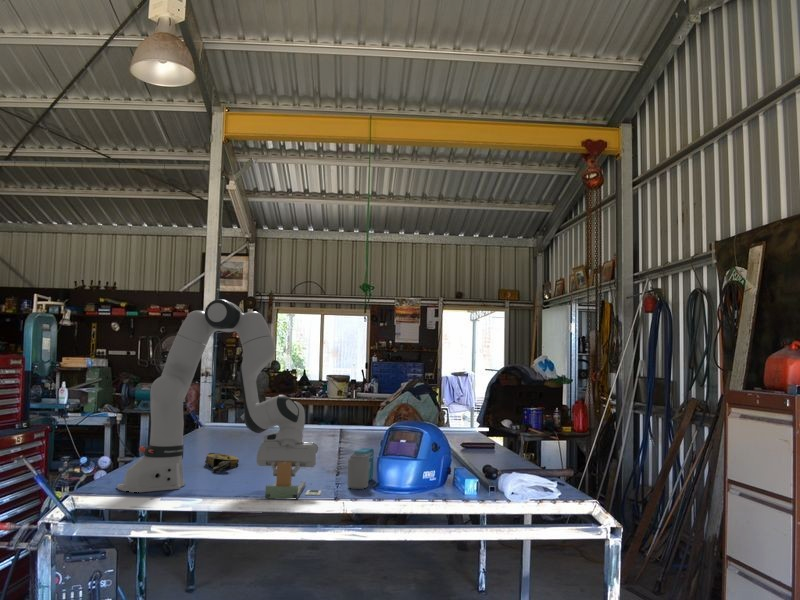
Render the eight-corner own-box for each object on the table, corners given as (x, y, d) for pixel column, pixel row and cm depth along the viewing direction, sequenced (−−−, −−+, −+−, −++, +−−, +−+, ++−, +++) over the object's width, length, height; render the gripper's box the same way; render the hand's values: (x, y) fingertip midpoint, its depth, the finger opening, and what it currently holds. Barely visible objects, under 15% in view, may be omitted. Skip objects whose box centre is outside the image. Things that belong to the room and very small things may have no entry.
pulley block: (204, 457, 262) (207, 447, 291) (201, 472, 261) (204, 461, 290) (240, 463, 265) (240, 453, 294) (237, 477, 264) (237, 466, 293)
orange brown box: (277, 491, 225) (279, 461, 226) (291, 491, 225) (292, 461, 226) (275, 493, 221) (277, 463, 222) (289, 494, 221) (290, 463, 222)
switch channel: (276, 485, 242) (277, 473, 243) (323, 486, 243) (324, 475, 243) (265, 498, 218) (265, 486, 218) (317, 499, 219) (318, 487, 219)
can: (370, 487, 244) (371, 454, 245) (364, 490, 237) (365, 456, 238) (351, 485, 246) (352, 452, 247) (344, 489, 239) (345, 455, 240)
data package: (364, 484, 250) (365, 451, 251) (352, 483, 251) (353, 451, 252) (372, 479, 261) (373, 448, 263) (361, 478, 263) (363, 447, 264)
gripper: (319, 448, 236) (315, 481, 226) (261, 447, 236) (254, 480, 225) (318, 437, 232) (314, 470, 222) (259, 435, 232) (253, 468, 221)
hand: (283, 475), depth 223 cm, fingers closed on orange brown box, 4 cm apart
